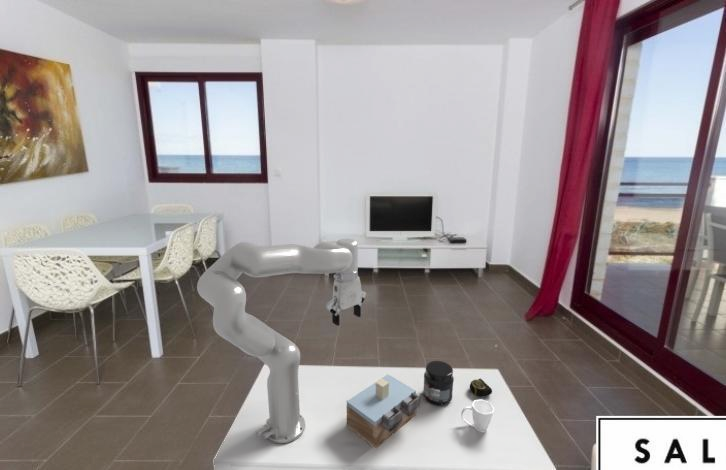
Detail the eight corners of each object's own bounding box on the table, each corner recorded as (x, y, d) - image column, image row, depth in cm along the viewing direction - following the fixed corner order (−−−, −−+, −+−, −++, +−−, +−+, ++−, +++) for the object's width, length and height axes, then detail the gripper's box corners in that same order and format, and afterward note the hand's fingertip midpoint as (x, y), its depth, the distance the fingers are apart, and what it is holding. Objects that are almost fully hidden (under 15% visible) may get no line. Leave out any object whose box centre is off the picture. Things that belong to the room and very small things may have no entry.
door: (379, 429, 106) (379, 410, 104) (346, 405, 115) (346, 387, 114) (419, 397, 119) (420, 380, 118) (387, 377, 129) (388, 361, 127)
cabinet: (383, 455, 106) (384, 425, 104) (346, 425, 118) (346, 398, 115) (423, 420, 120) (425, 393, 118) (387, 396, 131) (387, 371, 129)
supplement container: (443, 385, 137) (445, 357, 134) (457, 404, 128) (460, 374, 125) (418, 390, 135) (419, 361, 132) (430, 409, 125) (432, 379, 122)
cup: (493, 437, 113) (496, 415, 111) (461, 432, 115) (463, 411, 113) (490, 420, 120) (492, 400, 118) (459, 416, 122) (461, 396, 120)
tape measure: (492, 397, 132) (493, 388, 131) (476, 400, 130) (477, 391, 129) (481, 385, 138) (482, 376, 137) (465, 388, 136) (466, 380, 135)
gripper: (333, 283, 116) (333, 331, 120) (372, 272, 127) (371, 316, 131) (319, 277, 121) (320, 323, 125) (358, 266, 132) (358, 309, 136)
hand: (346, 319), depth 128 cm, fingers open, 9 cm apart
